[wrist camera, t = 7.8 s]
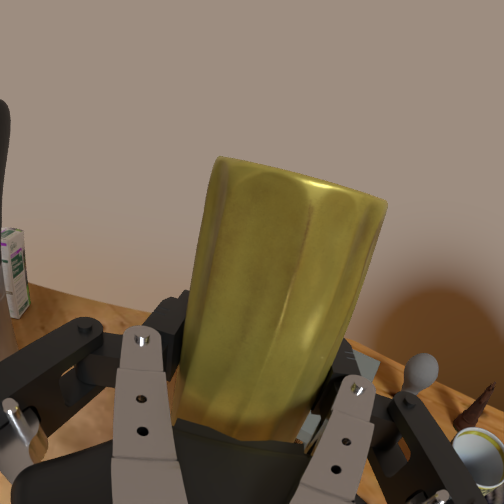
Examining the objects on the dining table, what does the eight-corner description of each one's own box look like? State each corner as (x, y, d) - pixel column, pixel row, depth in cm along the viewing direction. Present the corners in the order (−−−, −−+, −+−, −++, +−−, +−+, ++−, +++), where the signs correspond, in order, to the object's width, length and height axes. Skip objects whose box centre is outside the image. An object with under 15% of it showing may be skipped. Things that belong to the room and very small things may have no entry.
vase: (176, 408, 15) (218, 156, 11) (274, 428, 15) (364, 194, 11) (150, 489, 9) (170, 145, 5) (275, 511, 9) (447, 222, 5)
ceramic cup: (402, 533, 15) (461, 492, 12) (400, 472, 24) (444, 424, 21) (477, 520, 12) (531, 477, 9) (467, 471, 22) (509, 426, 19)
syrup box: (19, 320, 35) (9, 239, 31) (-5, 313, 34) (-16, 235, 30) (31, 304, 41) (25, 229, 37) (8, 299, 39) (1, 225, 35)
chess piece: (449, 425, 32) (481, 380, 29) (460, 414, 35) (489, 371, 32) (465, 439, 28) (500, 394, 26) (475, 426, 31) (506, 384, 28)
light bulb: (390, 412, 36) (421, 365, 33) (384, 389, 42) (409, 343, 39) (419, 414, 35) (450, 368, 32) (411, 392, 41) (437, 348, 38)
